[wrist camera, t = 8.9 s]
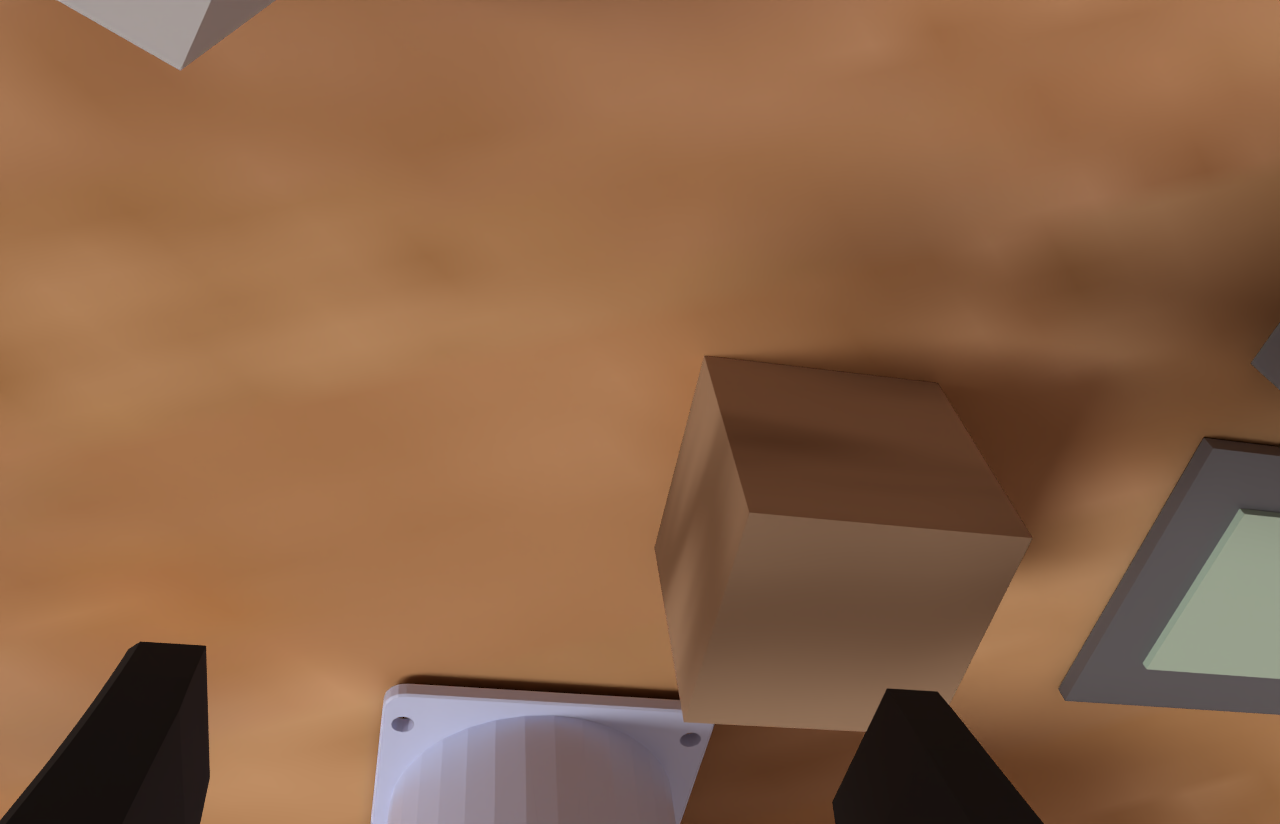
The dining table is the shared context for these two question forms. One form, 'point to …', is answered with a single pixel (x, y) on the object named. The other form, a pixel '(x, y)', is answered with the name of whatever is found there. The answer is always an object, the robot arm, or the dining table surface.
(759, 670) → the walnut block
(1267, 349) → the slate base
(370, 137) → the dining table surface
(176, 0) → the grey rock
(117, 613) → the dining table surface
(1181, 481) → the grey square plate
